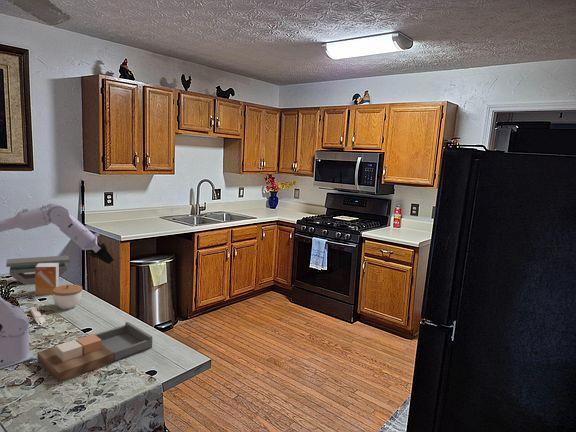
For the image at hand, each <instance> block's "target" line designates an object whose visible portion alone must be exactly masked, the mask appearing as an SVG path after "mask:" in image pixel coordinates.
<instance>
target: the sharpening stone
mask: <svg viewBox="0 0 576 432" xmlns="http://www.w3.org/2000/svg"><path fill="white" fill-rule="evenodd" d="M39 263H59V278H60V277H61V276H62V275H64V274H65V273H66V271H68V265H67V264H68V263H70V256H69V255H56V256H53V255H52V256H39V257H38V256H37V257H36V256H35V257H23V258H7V259H6V264H5V265H6V267H7V268H9V276H11V278H13V279H14V280H17V281H18V282H20V283H21V284H23V285H24V286H26V285H35V267H36V266H37V265H38V264H39Z"/></svg>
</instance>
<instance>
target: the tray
mask: <svg viewBox="0 0 576 432" xmlns="http://www.w3.org/2000/svg"><path fill="white" fill-rule="evenodd" d="M94 335H96V336H97V337H99V338H100V339H101V340H102V345H103V346H105V347H106V348H107V349H109V350H110V351H111V352H113V353H114V362H113V363H115V362H117V361H119V360H123V359H126V358H128V357H130V356H134V355H136V354H139V353H141V352H143V351H144V352H145V351H146V350H149V349H152V348H153V336H152V335H151V334H149V333H147V332H145V331H144V330H142V329H141V328H139V327H138V326H136V325H133V323H131V322H129V321H126V322H125V323H124V325H122V326H118V327H115V328H111V329H109V330H105V331H102V332H101V331H100V332H99V333H96V334H95V333H94Z"/></svg>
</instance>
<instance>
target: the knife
mask: <svg viewBox="0 0 576 432" xmlns="http://www.w3.org/2000/svg"><path fill="white" fill-rule="evenodd" d="M39 309H40V307H39V306H30V309H29V311H30V314H31V315H32V317H33V319H34V320H35V322H36V324H37V323H38V324H37V326H39V325H42V324H43V322H47V321H46V320H47V314H42V313H41V311H39ZM37 310H38V311H37ZM45 317H46V318H45ZM40 323H41V324H40Z"/></svg>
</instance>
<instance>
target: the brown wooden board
mask: <svg viewBox="0 0 576 432" xmlns="http://www.w3.org/2000/svg"><path fill="white" fill-rule="evenodd" d="M74 340H75V341H76V339H74ZM36 358H37V360H36V361H37V362H38V363H39V365H41V366H42V367H43V368H44V369H45V370H46V371H47V372H48V374H50V375H51V376H52V377H53V378H54V379H55V380H56V381H57V382H58V383H62V382H65V381H67V380H69V379H70V380H71V379H73V378H75V377H77V376H80V375H83V374H85V373H88V372H91V371H94V370H96V369H99V368H102V367H104V366H107V365H110V364H113V363H115V362H114V353H113V352H111V351H110V350H109V349H107V348H106V347H105V346H103V345H102V349H99V350H96V351H93V352H90V353H87V354H83V353H82V355H81V356H78V357H76V358H73V359H70V360H67V361H64V362H63V361H62V360H61V359H60V358H59V357H58V356H57V355H56V346H53V347H52V346H51V347H50V348H46V349H43V350H40V351H37V352H36ZM109 363H110V364H109ZM106 364H107V365H106ZM103 365H104V366H103ZM101 366H102V367H101ZM98 367H99V368H98Z"/></svg>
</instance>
